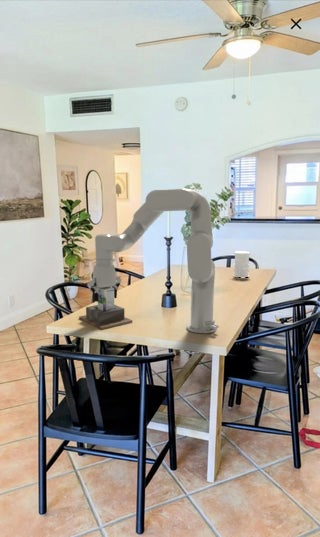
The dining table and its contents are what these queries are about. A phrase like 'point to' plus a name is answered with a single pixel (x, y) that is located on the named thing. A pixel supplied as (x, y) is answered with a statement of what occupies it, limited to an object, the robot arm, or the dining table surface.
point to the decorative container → (241, 264)
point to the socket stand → (105, 317)
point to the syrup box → (105, 298)
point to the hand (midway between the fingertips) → (105, 299)
